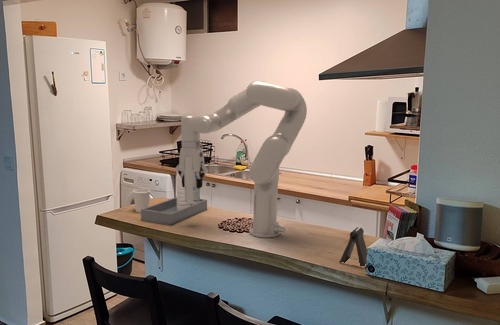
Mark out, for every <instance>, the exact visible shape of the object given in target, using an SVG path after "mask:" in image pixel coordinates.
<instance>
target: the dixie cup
mask: <svg viewBox="0 0 500 325" xmlns="http://www.w3.org/2000/svg"><path fill="white" fill-rule="evenodd" d="M131 193H132V195H133V202H134V208H135V212H136V213H141V209H144V208H147V207H149V206H150V205H149V204H150V203H149V202H150V196H151V195H150V194H151V189H149V188H135V189H133V190H132V192H131Z"/></svg>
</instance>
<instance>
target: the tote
mask: <svg viewBox="0 0 500 325" xmlns="http://www.w3.org/2000/svg"><path fill="white" fill-rule="evenodd" d="M207 210H208V199H203V198H200V203H197V204H190V206H188V207H186V208H183V209H181V210H178V211H177V196H175V197H173V198H169V199H168V200H163V201H162V202H159V203H155V204H151V205H148V207H147V208H144V209H141V212H140V221H143V222H147V223H153V224H160V225H165V226H174V225H176V224H179V223H181V222H183V221H185V220H187V219H189V218H192V217H194V216H196V215H199V214H201V213H203V212H206V211H207Z"/></svg>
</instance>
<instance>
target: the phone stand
mask: <svg viewBox="0 0 500 325" xmlns="http://www.w3.org/2000/svg"><path fill="white" fill-rule="evenodd" d="M364 230H365V229H363V227H360V228H359V227H358V226H357V227H355V228H354V229H353V230H352V231H351V232H350V233H349V240H348V242H347V244H346V246H345V247H346V248H345V250H344V252H343V253H342V256H341V258H340V260H339V263H340V262H344V263H345V262H346V261H347V260H348V259H349V258H351V256H352V253H353V250H354V247H355V246H356V247H355V248H356V252H357V257H358V260H359V263H360V266H365V264H366V250H367V251H368V248H367V246H366V241H365V238H364V232H365V231H364Z"/></svg>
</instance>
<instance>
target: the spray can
mask: <svg viewBox="0 0 500 325" xmlns="http://www.w3.org/2000/svg"><path fill="white" fill-rule="evenodd" d="M197 179H198V177H197V175H196V173H195V172H194V168H193V157H189V156H184V183H185V203H186V204H197V203H200V199H201V193H200V192H201V190H200V189H201V188H197Z"/></svg>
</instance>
